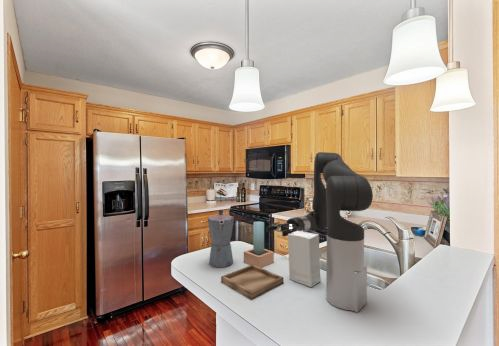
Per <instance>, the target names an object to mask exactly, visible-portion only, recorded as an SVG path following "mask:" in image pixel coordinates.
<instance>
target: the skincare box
mask: <svg viewBox="0 0 499 346" xmlns="http://www.w3.org/2000/svg"><path fill="white" fill-rule="evenodd" d="M287 241H288V248H287V249H288V273H289V274H288V275H289V276H288V277H289V280H291V281H293V282H296V283H298V284H302V285H304V286H307V287H310V288H312V287H314V286H315V285H317V284H319V283H321V280H322V279H321V277H322V276H321V256H320V254H321V253H320V235H319V234H318V233H312V232H308V231H307V232H302V231H295V232H293V233H290V234H288V236H287Z"/></svg>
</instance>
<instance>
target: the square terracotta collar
mask: <svg viewBox="0 0 499 346" xmlns="http://www.w3.org/2000/svg"><path fill="white" fill-rule="evenodd" d="M274 257H275V252H274V251H272V250H268V249H266V248H264V254H263V255H260V256H258V255H255V254H253V248H251V249H248V250H244V251H243V263H244V264H247V265H248V266H250V265H255V266H258V267H260V268H264V267H266V266H268V265H271V264H273V263H275V262H274V261H275V258H274Z"/></svg>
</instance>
